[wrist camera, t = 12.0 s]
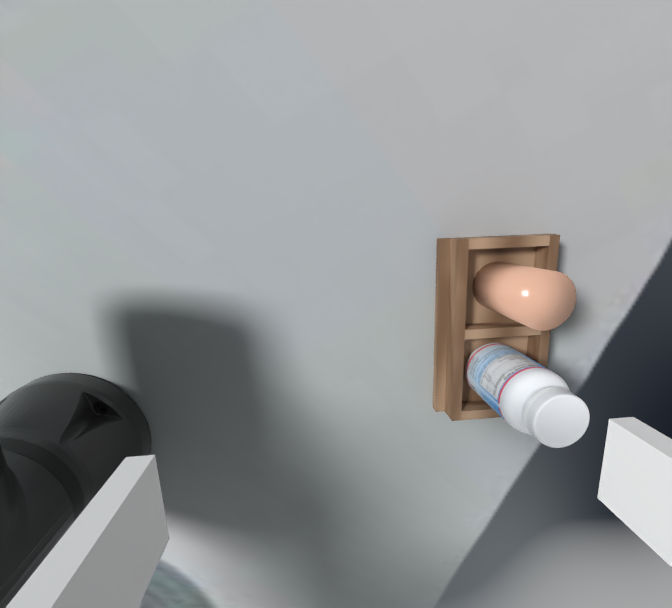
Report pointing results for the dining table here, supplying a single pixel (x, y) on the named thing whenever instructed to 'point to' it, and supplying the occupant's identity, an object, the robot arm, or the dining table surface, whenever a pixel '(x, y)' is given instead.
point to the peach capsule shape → (525, 294)
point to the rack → (479, 315)
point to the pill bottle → (527, 395)
